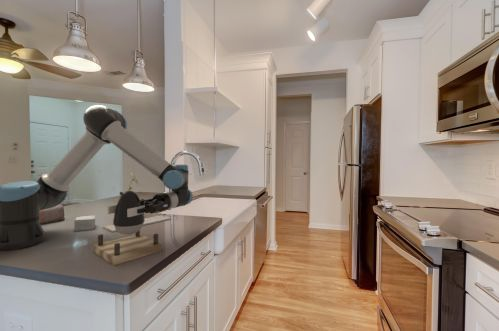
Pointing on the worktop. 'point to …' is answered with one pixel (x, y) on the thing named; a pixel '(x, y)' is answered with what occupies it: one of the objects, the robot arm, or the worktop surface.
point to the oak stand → (126, 248)
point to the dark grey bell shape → (120, 217)
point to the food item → (51, 214)
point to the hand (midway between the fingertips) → (118, 211)
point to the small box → (84, 223)
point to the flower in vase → (131, 181)
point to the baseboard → (146, 222)
